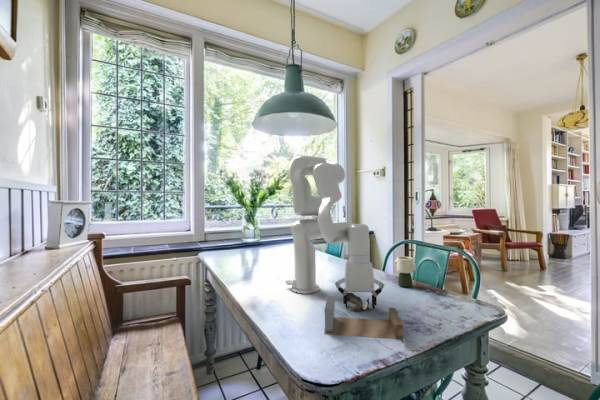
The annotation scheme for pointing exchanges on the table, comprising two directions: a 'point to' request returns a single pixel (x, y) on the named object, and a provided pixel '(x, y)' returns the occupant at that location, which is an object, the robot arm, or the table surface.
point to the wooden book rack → (370, 327)
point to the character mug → (405, 270)
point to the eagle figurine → (357, 303)
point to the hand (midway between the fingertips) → (359, 306)
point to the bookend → (330, 314)
